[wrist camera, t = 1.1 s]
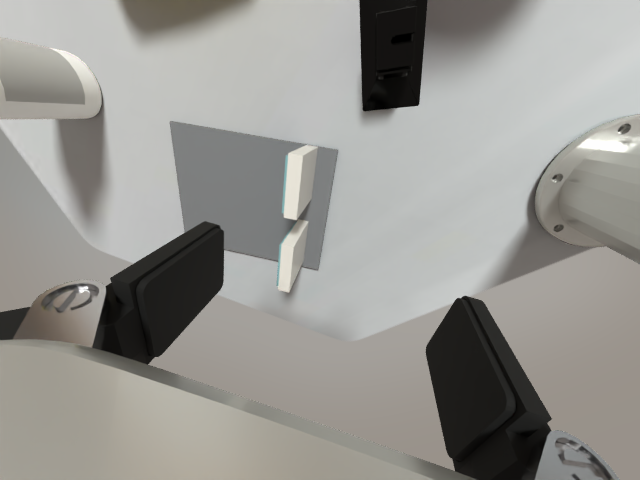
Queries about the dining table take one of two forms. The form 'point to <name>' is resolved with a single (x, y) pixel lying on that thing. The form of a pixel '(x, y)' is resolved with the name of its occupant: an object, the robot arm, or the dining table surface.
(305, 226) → the tile
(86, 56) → the dining table surface
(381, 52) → the black slotted bracket
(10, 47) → the spray bottle
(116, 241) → the dining table surface
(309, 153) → the tile
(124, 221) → the dining table surface
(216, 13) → the dining table surface
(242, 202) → the mat
